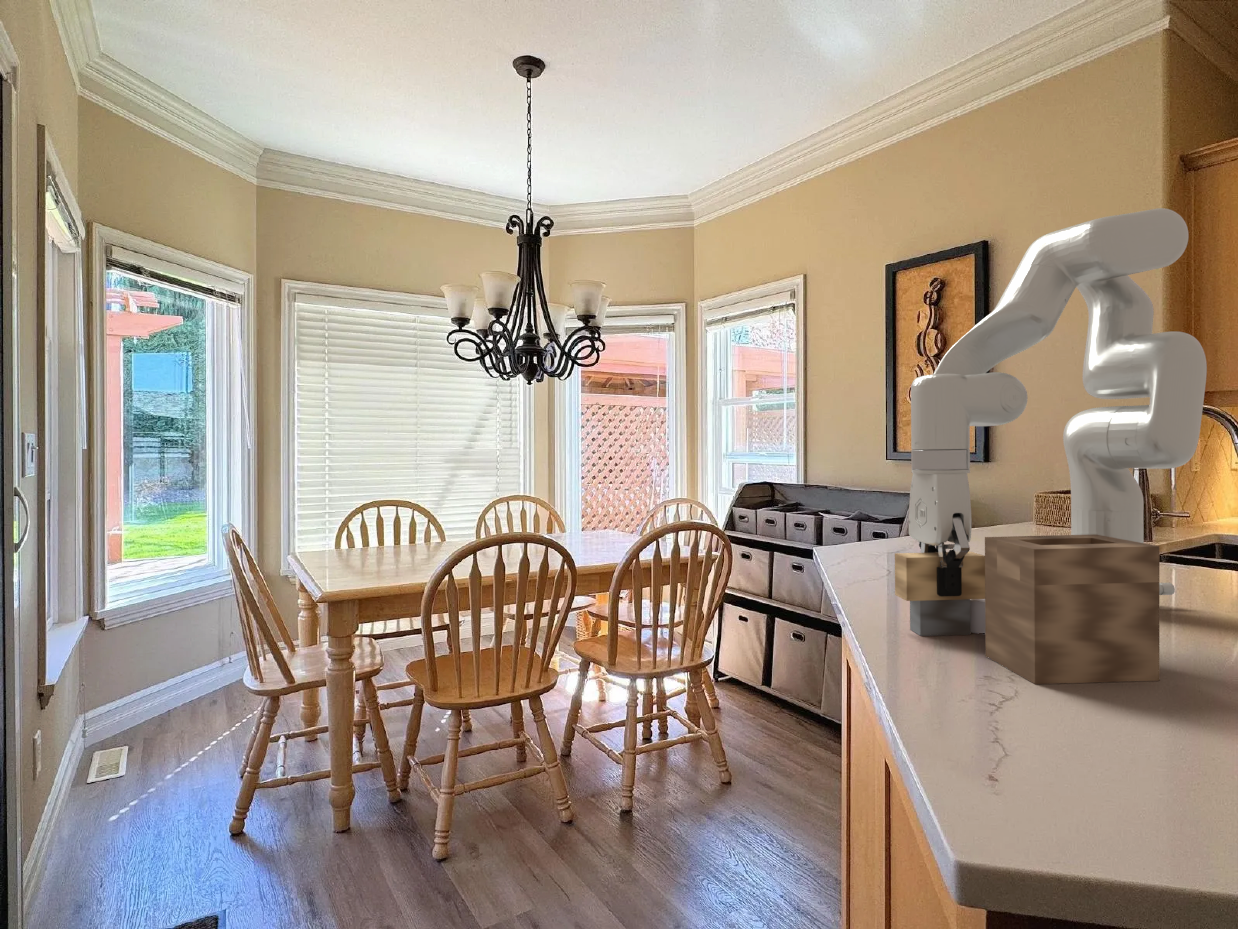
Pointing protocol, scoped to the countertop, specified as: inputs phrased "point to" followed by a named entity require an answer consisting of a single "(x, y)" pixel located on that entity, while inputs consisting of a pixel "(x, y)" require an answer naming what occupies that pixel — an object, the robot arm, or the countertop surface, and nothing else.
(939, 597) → the tan rectangular block
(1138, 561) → the wooden crate
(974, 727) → the countertop surface
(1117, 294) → the robot arm
